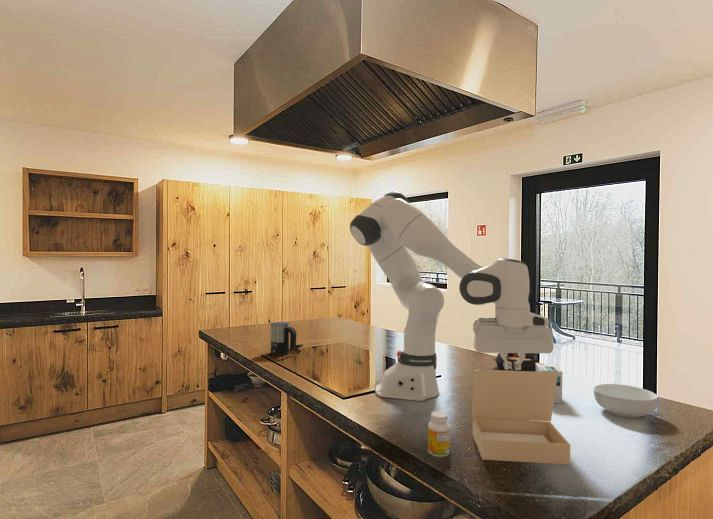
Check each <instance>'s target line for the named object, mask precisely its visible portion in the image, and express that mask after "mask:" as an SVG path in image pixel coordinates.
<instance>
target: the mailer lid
mask: <svg viewBox="0 0 713 519" xmlns="http://www.w3.org/2000/svg"><path fill="white" fill-rule="evenodd" d="M508 362H509V361H508ZM503 366H504V369H505V362H503ZM557 377H558V373H557V372H532V371H513V369H512V370H507V369H505V370H493V369H474V376H473V390H472V405H471V418H472V419H473V418H486V419H507V420H529V421H550V422H551V421H552V416H553V410H554V404H555V403H554V397H555V391H556V384H557Z"/></svg>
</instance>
